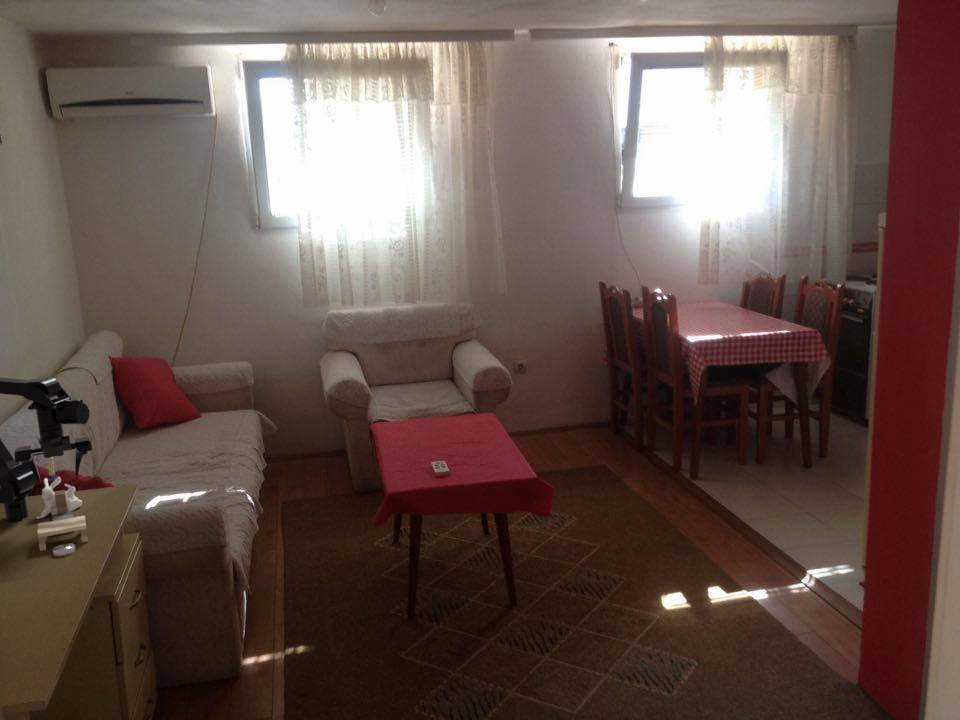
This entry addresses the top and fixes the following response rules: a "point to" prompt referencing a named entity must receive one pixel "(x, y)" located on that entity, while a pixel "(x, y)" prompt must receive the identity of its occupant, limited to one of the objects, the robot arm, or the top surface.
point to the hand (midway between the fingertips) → (58, 479)
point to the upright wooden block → (61, 507)
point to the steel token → (64, 549)
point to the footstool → (61, 529)
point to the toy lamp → (51, 469)
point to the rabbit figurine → (50, 498)
